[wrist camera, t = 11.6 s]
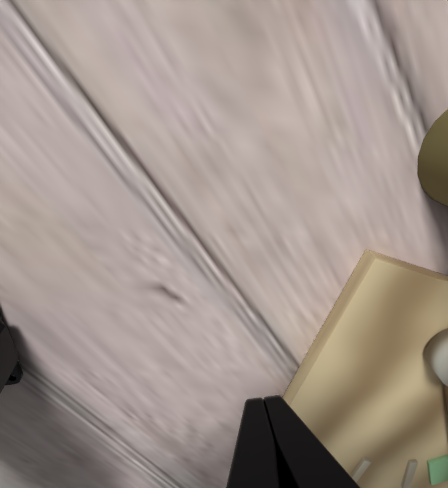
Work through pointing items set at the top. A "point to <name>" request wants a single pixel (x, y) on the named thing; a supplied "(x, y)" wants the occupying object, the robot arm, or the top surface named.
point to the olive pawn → (435, 161)
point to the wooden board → (379, 377)
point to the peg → (439, 359)
